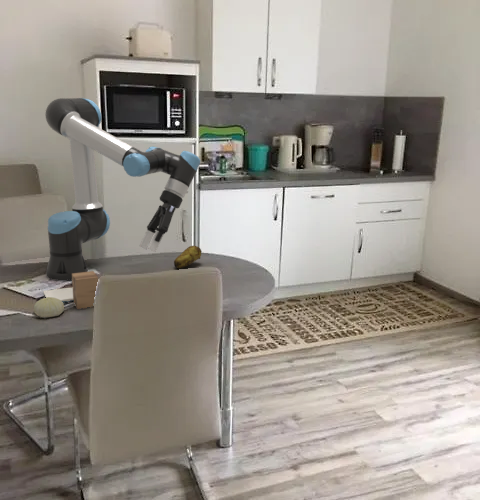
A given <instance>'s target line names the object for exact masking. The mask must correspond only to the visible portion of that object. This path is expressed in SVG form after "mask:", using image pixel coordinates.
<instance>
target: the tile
mask: <svg viewBox="0 0 480 500" xmlns="http://www.w3.org/2000/svg"><path fill="white" fill-rule="evenodd" d="M44 295H45V296H44ZM43 296H44V298H45V297H53V298H57V299H59V300H61V301H70V300H73V286H72V287H66V288H65V287H64V288H57V289H48V290H43Z"/></svg>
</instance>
